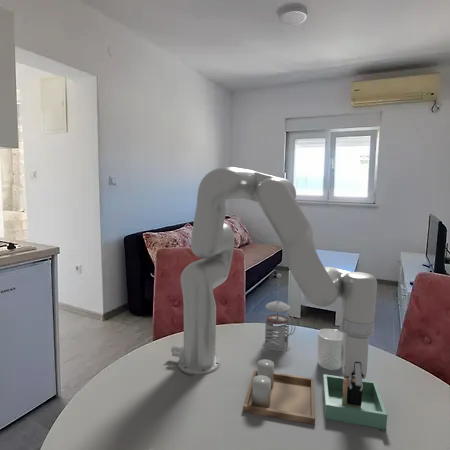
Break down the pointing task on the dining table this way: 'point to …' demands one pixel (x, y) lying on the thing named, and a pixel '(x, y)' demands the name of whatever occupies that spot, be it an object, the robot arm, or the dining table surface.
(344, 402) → the brown smooth lump
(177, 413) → the dining table surface
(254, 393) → the pebble
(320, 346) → the white cup
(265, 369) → the pebble
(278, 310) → the french press
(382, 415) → the bin
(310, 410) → the tray
